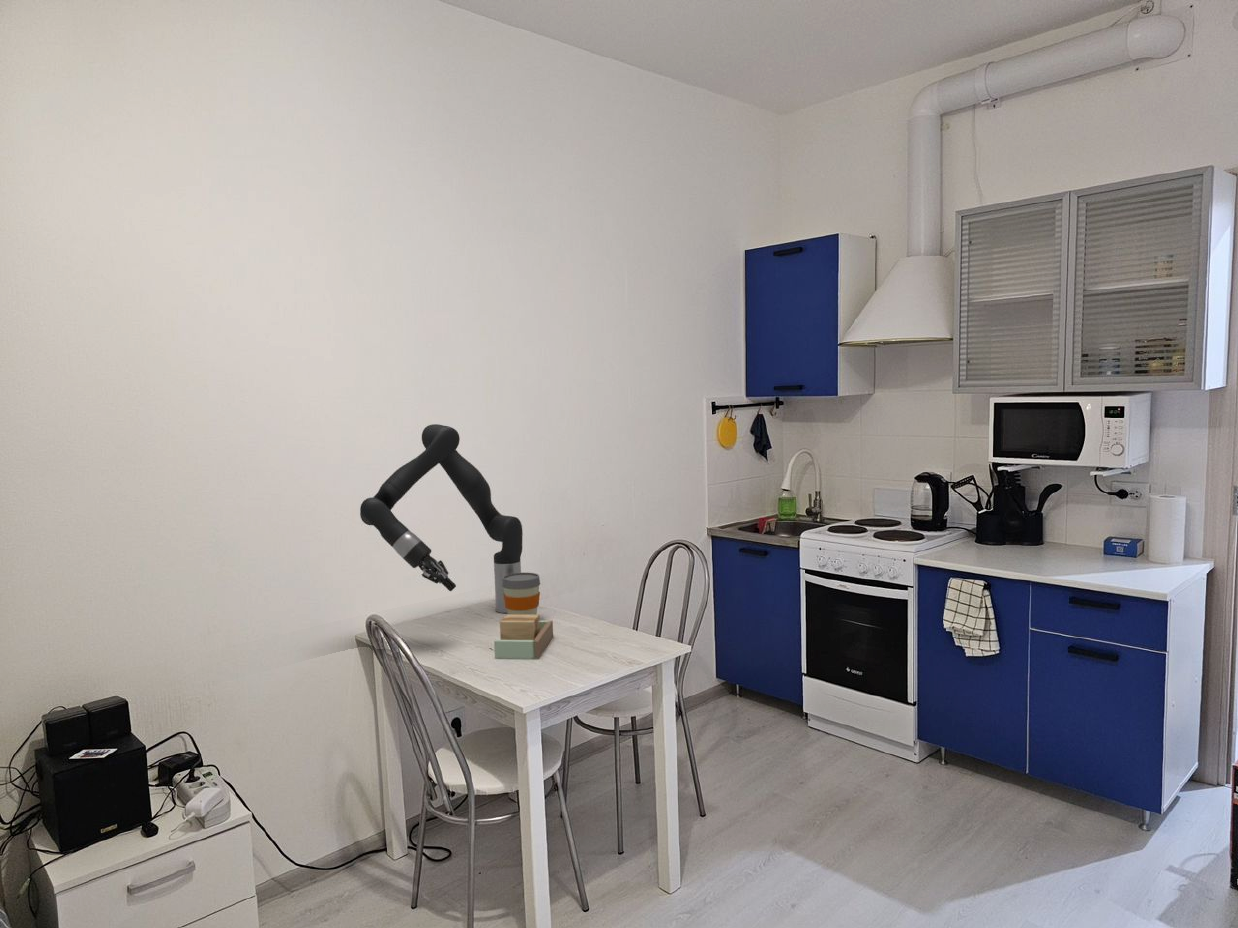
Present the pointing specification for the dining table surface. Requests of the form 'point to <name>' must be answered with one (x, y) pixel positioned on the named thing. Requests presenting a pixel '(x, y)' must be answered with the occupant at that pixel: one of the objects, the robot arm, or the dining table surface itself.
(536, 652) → the bay
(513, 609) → the reusable coffee cup
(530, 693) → the dining table surface
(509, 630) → the oak block
